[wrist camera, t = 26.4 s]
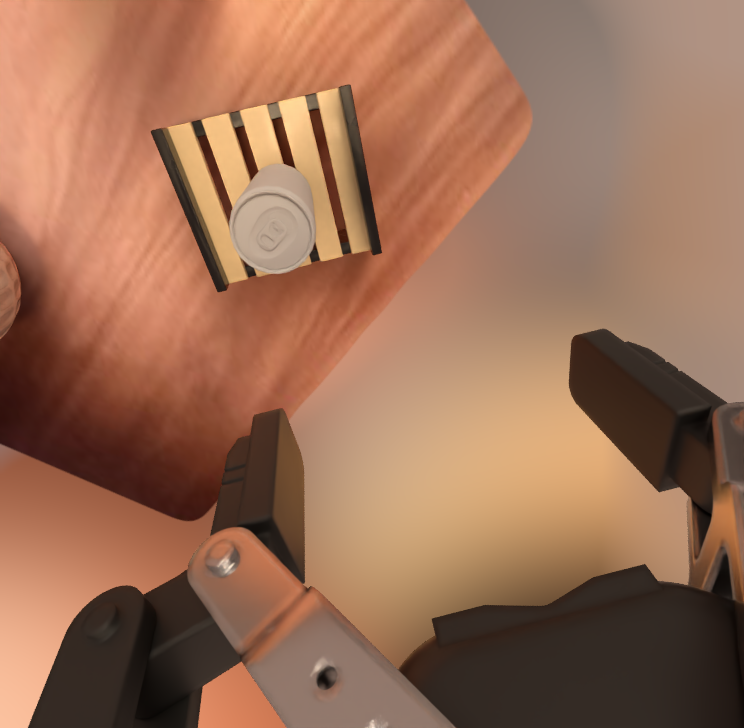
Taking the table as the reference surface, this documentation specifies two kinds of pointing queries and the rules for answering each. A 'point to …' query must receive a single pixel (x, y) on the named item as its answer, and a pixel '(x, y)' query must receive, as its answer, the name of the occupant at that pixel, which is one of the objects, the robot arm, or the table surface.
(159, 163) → the table surface
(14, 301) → the vase
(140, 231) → the table surface
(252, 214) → the beverage can
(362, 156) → the rack
